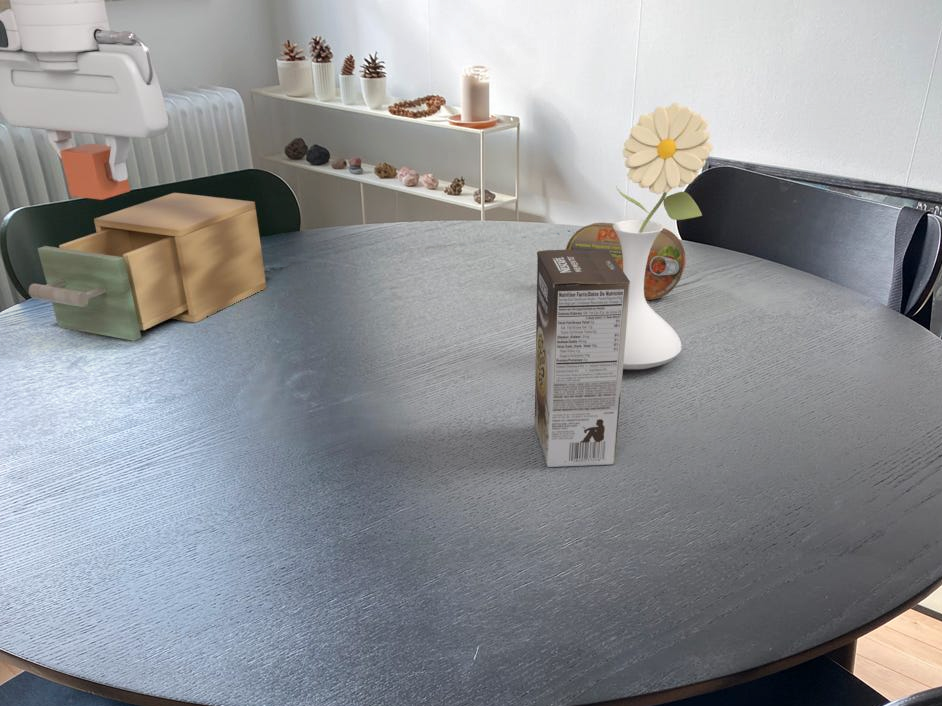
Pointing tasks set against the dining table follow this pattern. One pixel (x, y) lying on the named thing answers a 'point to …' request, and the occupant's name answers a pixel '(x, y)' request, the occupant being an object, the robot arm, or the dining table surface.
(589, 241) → the tin
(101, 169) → the block
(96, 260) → the drawer
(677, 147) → the flower in vase
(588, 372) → the coffee box
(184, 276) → the cabinet
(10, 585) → the dining table surface
